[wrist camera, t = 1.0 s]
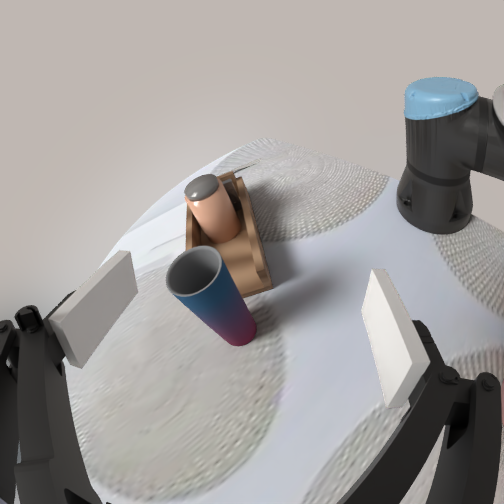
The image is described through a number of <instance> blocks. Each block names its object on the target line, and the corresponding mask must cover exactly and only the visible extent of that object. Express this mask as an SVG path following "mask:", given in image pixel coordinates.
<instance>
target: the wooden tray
mask: <svg viewBox="0 0 504 504" xmlns="http://www.w3.org/2000/svg"><path fill="white" fill-rule="evenodd" d="M216 178H218V179H220V180H221V181H222V182H223V181H225V180H228V179H231V180H232V182H233V184H234V187H235V189H236V191H237V193H238V196H239V198H240V200H241V204H242V209H241V210H238V211H236V213H237V215H238V217H239V219H240V222H241V225H242V226H241V230H240V232H239V233H238V235H237V236H236V237H235V238H233V239H232V240H230V241H228V242H226V243H222V244H215V243H212V242H210V241H209V239H208V237H207V236H206V234H205V232H204V231H203V229H202V227H201V226H200V224H199V222H198V221H197V219H196V217H195V216H194V214H193V212H192V211H191V209H190V207H189V206H188V204H187V218H186V251H187V250H189V249H191V248H193V247H197V246H210V247H213V248H215V249H216V250H217V251H218V252H219V253H220V255H221V257H222V259H223V261H224V263H225V265H226V267H227V269H228V271H229V273H230V275H231V277H232V279H233V281H234V283H235V284H236V286H237V288H238V290H239V292H240V294H241V296H242V298H245V297H248V296H252V295H255V294H258V293H261V292H264V291H267V290H270V289H273V285H272V281H271V278H270V274H269V270H268V266H267V262H266V258H265V254H264V250H263V247H262V243H261V239H260V235H259V231H258V227H257V224H256V220H255V216H254V212H253V209H252V205H251V201H250V197H249V194H248V191H247V189H246V187H245V184H244V182H243V179H242V177H238V178H235V175H234V173H233V171H231V172H228V173H225V174H223V175H220V176H217V177H216Z"/></svg>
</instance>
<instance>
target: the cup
mask: <svg viewBox="0 0 504 504" xmlns="http://www.w3.org/2000/svg"><path fill="white" fill-rule="evenodd" d="M166 285H167V288H168V290H169V291H170V292H171V293H172V294H173V295H174V296H175V297H176V298H178V299H179V300H180V301H181V302H182V303H183V304H184V305H185V306H186V307H187V308H189V309H190V310H191V311H192V312H193V313H194V314H195V315H196V316H198V317H199V318H200V319H201V320H202V321H203V322H204V323H206V324H207V325H208V326H209V327H210V328H211V329H213V330H214V331H215V332H216V333H217V334H218V335H220V336H221V337H222V338H223V339H224V340H226V341H227V342H228V343H229V344H231V345H233V346H243V345H245V344H247V343H249V342H250V341H251V340H252V339H253V338H254V336H255V334H256V330H257V328H256V323H255V321H254V319H253V317H252V316H251V314H250V312H249V310H248V308H247V306H246V304H245V302H244V300H243V298H242V296H241V294H240V292H239V290H238V288H237V286H236V284H235V283H234V281H233V279H232V277H231V275H230V273H229V271H228V269H227V267H226V265H225V263H224V261H223V259H222V257H221V255H220V253H219V252H218V251H217V250H216V249H215V248H213V247H210V246H197V247H193V248H191V249H189V250H187V251H185V252H183V253H182V254H181V255H179V256H178V257H177V258H176V259H175V260H174V261H173V263H172V264H171V266H170V267H169V269H168V272H167V275H166Z"/></svg>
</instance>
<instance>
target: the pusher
mask: <svg viewBox="0 0 504 504" xmlns="http://www.w3.org/2000/svg"><path fill="white" fill-rule="evenodd" d="M222 183H223V186H224V188H225V190H226V192H227V194H228V196H229V198H230V200H231V202H232V205H233V207H234V209H235V211H238V210H241V209H242V204H241V200H240V198H239V196H238V193H237V191H236V189H235V187H234V184H233V182H232V180H231V179H228V180H225V181H223V182H222Z"/></svg>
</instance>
